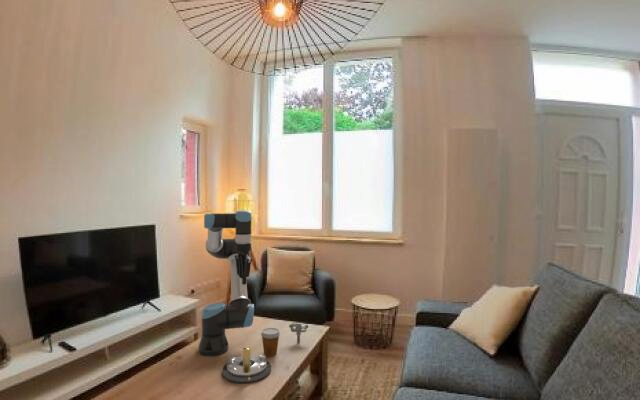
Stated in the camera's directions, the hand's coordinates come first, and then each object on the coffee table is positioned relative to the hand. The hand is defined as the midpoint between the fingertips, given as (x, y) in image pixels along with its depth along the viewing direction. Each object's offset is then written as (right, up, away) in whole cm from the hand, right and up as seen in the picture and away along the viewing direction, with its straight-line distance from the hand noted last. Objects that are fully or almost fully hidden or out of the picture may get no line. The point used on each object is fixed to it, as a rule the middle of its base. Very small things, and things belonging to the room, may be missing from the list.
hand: (242, 290), depth 184 cm
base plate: (+4, -35, -11) cm, 37 cm away
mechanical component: (+26, -34, +22) cm, 48 cm away
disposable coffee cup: (+13, -35, +7) cm, 37 cm away
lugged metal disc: (+4, -33, -11) cm, 35 cm away
